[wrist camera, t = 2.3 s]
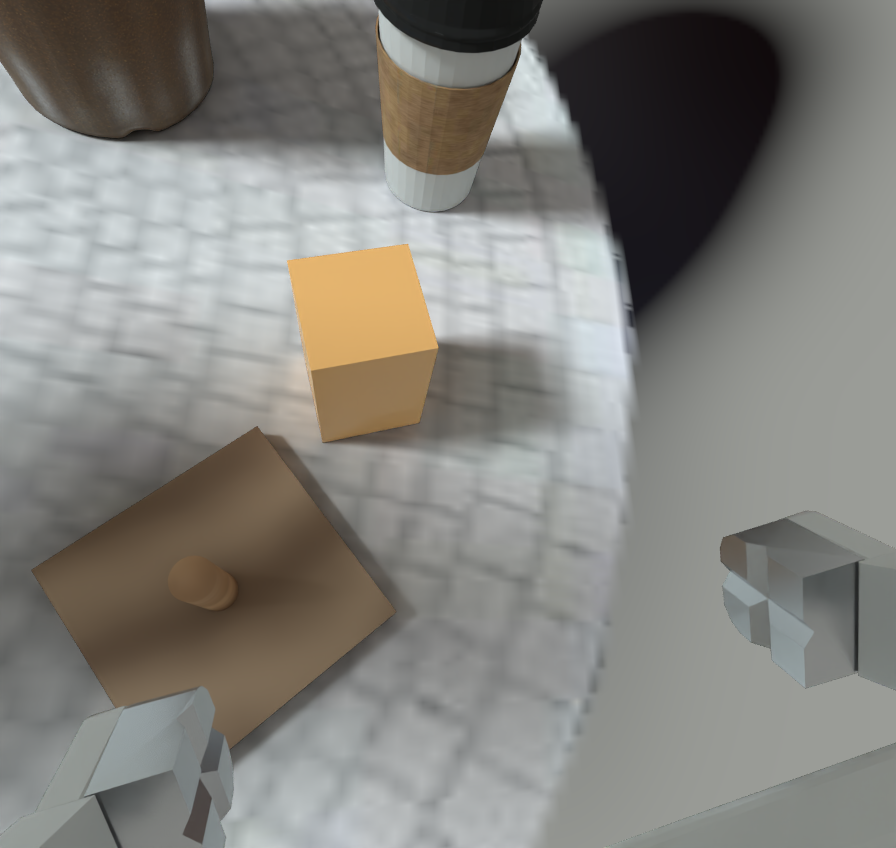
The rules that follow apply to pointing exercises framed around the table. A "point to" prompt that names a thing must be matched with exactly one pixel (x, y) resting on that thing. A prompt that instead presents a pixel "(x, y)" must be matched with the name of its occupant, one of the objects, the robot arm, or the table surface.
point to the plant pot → (108, 61)
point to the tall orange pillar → (364, 339)
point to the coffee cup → (444, 90)
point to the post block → (216, 590)
